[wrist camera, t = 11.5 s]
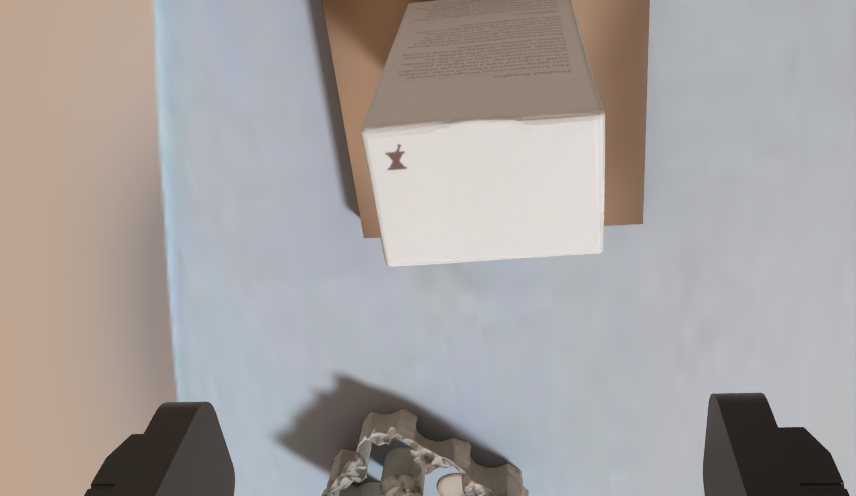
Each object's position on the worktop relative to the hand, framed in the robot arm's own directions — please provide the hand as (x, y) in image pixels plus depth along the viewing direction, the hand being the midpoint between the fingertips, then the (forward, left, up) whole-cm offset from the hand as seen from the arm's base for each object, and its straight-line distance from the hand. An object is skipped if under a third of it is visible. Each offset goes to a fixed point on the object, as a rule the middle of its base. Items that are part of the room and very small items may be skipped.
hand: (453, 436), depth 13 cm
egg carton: (+5, +24, -22) cm, 33 cm away
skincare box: (0, 0, -21) cm, 21 cm away
